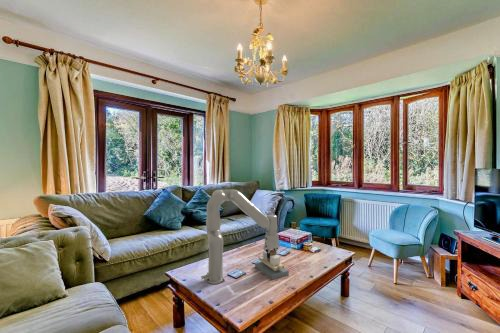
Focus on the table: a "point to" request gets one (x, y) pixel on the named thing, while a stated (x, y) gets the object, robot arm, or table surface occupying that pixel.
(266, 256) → the block
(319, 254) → the table surface
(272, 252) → the pallet
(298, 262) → the table surface
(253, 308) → the table surface
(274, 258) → the crate
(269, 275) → the dock
